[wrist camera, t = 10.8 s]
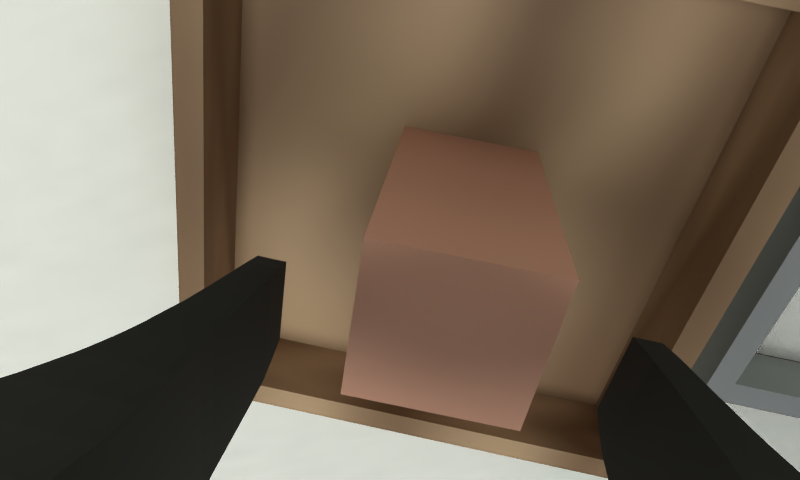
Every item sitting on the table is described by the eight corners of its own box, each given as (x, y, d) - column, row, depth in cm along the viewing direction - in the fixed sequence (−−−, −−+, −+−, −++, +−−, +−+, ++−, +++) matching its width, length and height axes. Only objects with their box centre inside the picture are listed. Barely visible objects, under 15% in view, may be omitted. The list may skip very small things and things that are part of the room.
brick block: (537, 152, 16) (579, 280, 10) (503, 265, 18) (520, 431, 12) (404, 126, 16) (364, 237, 10) (384, 241, 18) (340, 394, 12)
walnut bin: (829, -19, 13) (916, -11, 11) (605, 415, 21) (624, 481, 18) (222, -142, 14) (164, -163, 11) (217, 331, 21) (182, 385, 19)
